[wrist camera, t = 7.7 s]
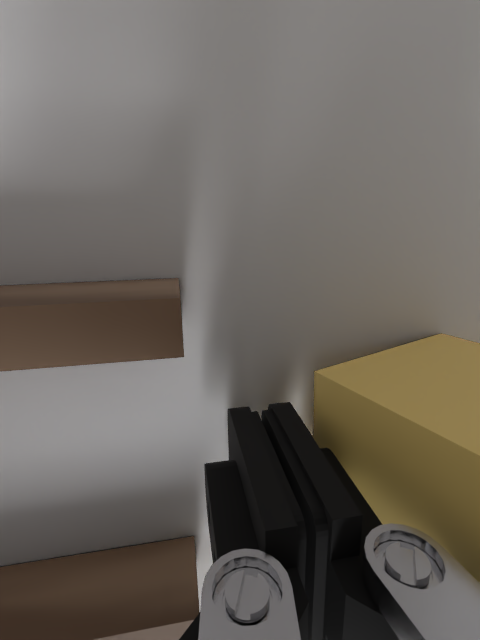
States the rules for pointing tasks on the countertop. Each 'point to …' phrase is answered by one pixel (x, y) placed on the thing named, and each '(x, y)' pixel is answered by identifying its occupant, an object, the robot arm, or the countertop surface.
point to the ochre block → (411, 436)
